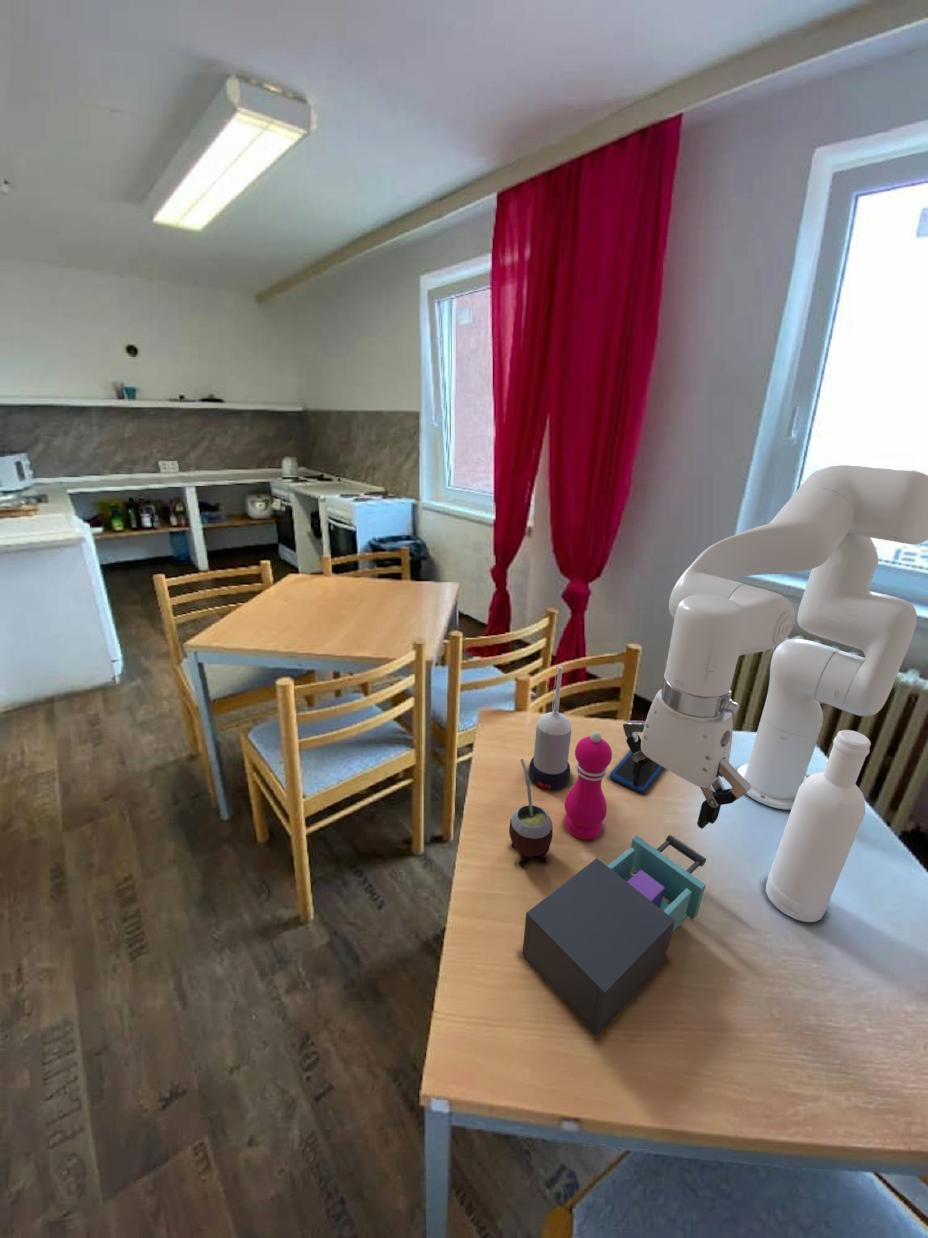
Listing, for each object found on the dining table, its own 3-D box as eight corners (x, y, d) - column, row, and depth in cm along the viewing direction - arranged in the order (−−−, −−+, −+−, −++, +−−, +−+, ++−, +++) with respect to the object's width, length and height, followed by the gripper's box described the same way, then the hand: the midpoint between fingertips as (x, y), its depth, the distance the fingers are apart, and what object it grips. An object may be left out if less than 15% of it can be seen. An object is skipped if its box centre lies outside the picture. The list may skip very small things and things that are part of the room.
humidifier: (537, 793, 100) (548, 679, 90) (523, 766, 107) (531, 658, 98) (576, 787, 102) (590, 675, 92) (559, 761, 109) (571, 655, 100)
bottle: (816, 886, 82) (879, 726, 70) (831, 931, 75) (903, 761, 63) (760, 872, 84) (812, 715, 73) (769, 913, 77) (828, 747, 66)
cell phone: (669, 760, 110) (669, 757, 110) (643, 795, 100) (643, 791, 100) (636, 746, 114) (636, 743, 114) (607, 778, 104) (608, 775, 104)
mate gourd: (539, 877, 82) (547, 803, 77) (495, 855, 86) (500, 783, 80) (557, 846, 88) (566, 775, 82) (515, 827, 92) (521, 758, 86)
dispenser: (590, 897, 79) (596, 857, 76) (664, 962, 70) (675, 920, 67) (522, 954, 71) (526, 912, 68) (596, 1036, 62) (605, 993, 59)
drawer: (650, 848, 87) (657, 819, 85) (716, 895, 79) (725, 864, 77) (576, 910, 76) (580, 879, 74) (643, 973, 68) (651, 940, 65)
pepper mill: (604, 845, 89) (620, 749, 81) (561, 838, 90) (573, 742, 82) (602, 815, 95) (617, 723, 87) (562, 809, 96) (574, 717, 89)
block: (620, 903, 76) (636, 888, 78) (644, 923, 73) (660, 907, 76) (624, 883, 75) (641, 869, 77) (649, 902, 72) (665, 887, 74)
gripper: (781, 714, 60) (748, 826, 67) (650, 659, 72) (633, 758, 79) (751, 739, 56) (719, 856, 63) (617, 676, 68) (602, 779, 75)
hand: (671, 801), depth 71 cm, fingers open, 9 cm apart
